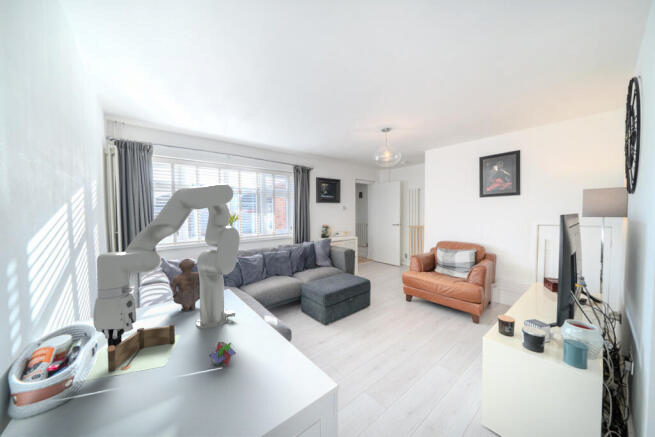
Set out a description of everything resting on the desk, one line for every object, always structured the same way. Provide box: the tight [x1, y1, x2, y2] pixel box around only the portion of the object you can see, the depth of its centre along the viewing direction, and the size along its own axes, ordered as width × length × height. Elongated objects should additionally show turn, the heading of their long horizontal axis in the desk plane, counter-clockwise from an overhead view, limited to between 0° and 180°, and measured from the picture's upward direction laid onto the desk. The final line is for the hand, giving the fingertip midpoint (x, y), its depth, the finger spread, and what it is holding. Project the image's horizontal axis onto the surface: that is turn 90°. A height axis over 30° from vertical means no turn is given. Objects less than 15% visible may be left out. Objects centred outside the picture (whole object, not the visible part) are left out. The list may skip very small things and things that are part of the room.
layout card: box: [84, 334, 182, 382], centre depth 79 cm, size 23×20×1 cm
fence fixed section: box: [136, 323, 176, 350], centre depth 84 cm, size 11×2×7 cm, turn 109°
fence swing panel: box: [107, 331, 140, 372], centre depth 76 cm, size 12×2×8 cm, turn 3°
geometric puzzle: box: [208, 341, 237, 367], centre depth 75 cm, size 7×7×8 cm
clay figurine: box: [171, 258, 200, 312], centre depth 116 cm, size 13×10×25 cm
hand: (114, 348), depth 75 cm, fingers closed
